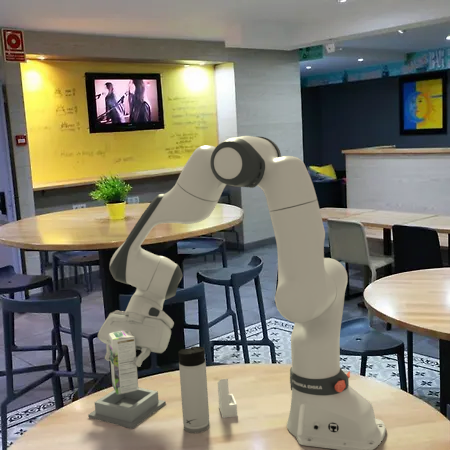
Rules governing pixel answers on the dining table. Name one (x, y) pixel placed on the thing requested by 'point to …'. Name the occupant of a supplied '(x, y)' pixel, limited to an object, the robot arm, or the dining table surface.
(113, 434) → the dining table surface
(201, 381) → the travel mug
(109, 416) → the holder
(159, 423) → the dining table surface
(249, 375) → the dining table surface
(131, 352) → the syrup box
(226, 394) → the white angled block
